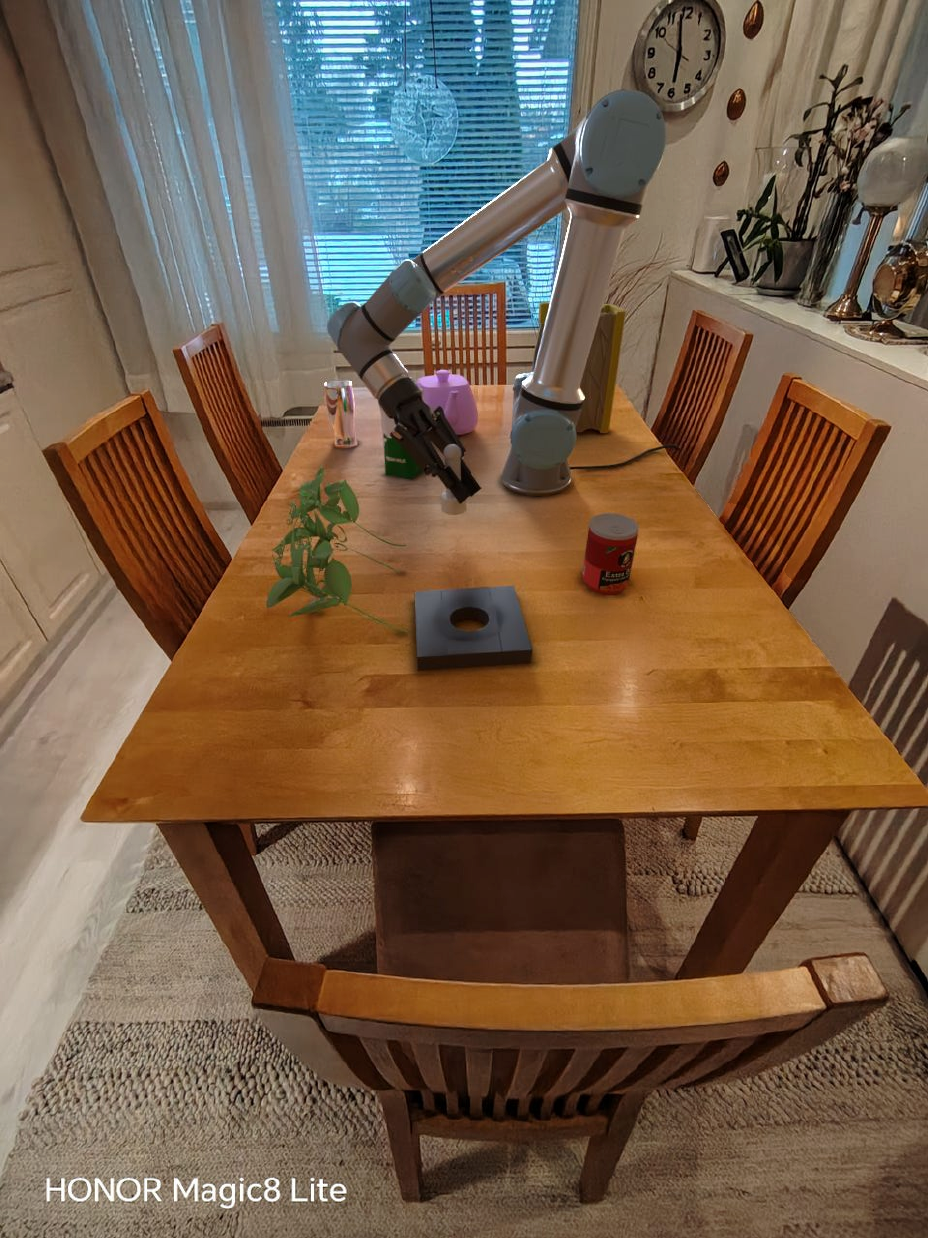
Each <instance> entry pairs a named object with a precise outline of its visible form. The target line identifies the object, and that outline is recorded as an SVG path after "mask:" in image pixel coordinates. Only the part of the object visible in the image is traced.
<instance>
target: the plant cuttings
mask: <svg viewBox="0 0 928 1238" xmlns="http://www.w3.org/2000/svg"><path fill="white" fill-rule="evenodd" d="M324 471H325V470H324V466H321V467H319V468H318V470H317V471H316V474H315V477H314V478H313V480H308V481H306V482H304V483H302V484H301V485H300V487H299V489H297V491H298V500H299V506H298V507H297V502H295V501H294V502H290V503H288V502H286V503H285V504H286V505H288V506H289V507H290V508H289V511H288V513H287V514H288V515H289V516H290V517H289V518H288V519H286V521H285V524H286V526H291V525H293V526H292V529H291V530H290V531H288V533H287V534H285V536H284V537H283V539H280V543H279V544H277V546H274V547H273V548H271V551H272V552H274V553H275V554H276V555H278V557H274V554H272V555H271V556H272V561H273V564H274V567H275V568H274V570H276V572H277V575H278V576H279V578H280V580H278V581H277V582H275V584H274V585H272V587H271V588H270V590H269V592H268V595H267V599H266V602H265V603H266V604H265V605H266V608H267V610H269V609H271V608H273V607H275V606H276V605H278V604H280V603H281V602H283V601H284V600H286V599H287V598H289V597H291V596H292V595H293V594H295V593H296V592H297V591H299V590H300V591H303V592H305V593H308V594H309V595H311V596H312V597H313V598H314V599H313V600H311V601H310V602H309V603H308V604H307V605H304V606H303V607H301V608H299V609H298V610H296V611H294V612H293V613H291V614H289V615H288V616H287V618H288V619H289V618H292V617H295V616H296V617H297V616H302V615H307V614H312V613H316V612H320V611H324V610H327V609H329V608H331V607H339V608H342V609H344V610H345V611H349V612H351V613H352V614H355V615H358V616H360V617H362V618H364V619H366V620H368V621H372V622H373V623H376V624H379V625H380V626H382V627H385V628H388V629H390V630H393V631H396V632H398V633H400V631H402V632H405V633H406V634H410V631H408V630H405V629H402V628H400V627H398V626H395V625H393V624H390V623H388V622H385V621H384V620H381V619H379V618H377V617H376V616H373V615H371V614H369V613H367V612H365V611H363V610H361V609H359V608H357V607H355V606H353V605H351V604H349V603H348V602H349V599H350V598H351V594H352V590H353V589H352V587H353V581H352V577H351V573H350V572H349V569H348V567H347V566H346V565H345V564H344V563H343V562H341V561H339V560H336V559H335V558H334V557H332V558H331V556H332V555H333V554H334V553H335V552H334V551H335V550H336V551H338V548H339V547H340V546H341V547H344V548H345V549H339V551H340V552H341V551H342V552H346V551H349V550H351V551H353V552H355V553H357V554H358V555H361V556H363V557H365V558H368V559H369V560H371V561H374V562H375V563H378V564H379V565H382V566H385V567H386V568H389V569H390V570H393V571H395V572H397V573H400V574H402V573H401V572H400V571H399V570H398V569H396V568H393V567H392V566H390V565H387V564H386V563H383V562H381V561H379V560H377V559H375V558H373V557H370V556H368V555H365V554H363V553H361V552H359V551H356V550H355V549H352V548H349V547H347V546H346V545H345V544H343V543H346V542H348V538H347V536H346V532H345V530H344V528H343V527H341V525H344V524H349V523H352V524H355V525H356V526H358V527H359V528H361V529H362V530H364V531H365V532H366V533H368V534H369V535H370V536H372V537H374V538H376V539H377V540H379V541H380V542H382V543H385V544H387V545H389V546H393V547H407V544H397V543H393V542H391V541H388V540H385V539H383V538H381V537H379V536H377V535H376V534H374V533H373V532H371V531H369V530H367V529H366V528H364V527H363V526H361V525H360V524H359V523H357V522H356V521H358V518H359V515H360V505H359V501H358V498H357V496H356V494H355V492H354V490H353V489H352V488H351V487H350V485H349V484H348V482H347V480H346V479H344V480H342V481H336V482H333V483H332V482H328V483H326V484H325V485H324V489H323V491H324V494H325V496H326V497H328V499H327V501H326V502H324V503H322V497H321V496H322V492H321V491H322V490H321V489H322V483H323V482H324V473H325V472H324ZM340 501H341V503H342V505H343V507H344V509H345V510H344V511H343V512H342V507H341V506H340V505H338V504H340ZM316 510H317V511H318V513H319V514H320V515H321V517H322V518H323V519H324V520H325V521H327V522H329V523H328V524H327V527H325V524H324V522H323V521H322V519H321V518H320V516H318V514H317V512H316ZM311 512H313V513H314V520H313V519H312V517H311V516H310V514H309V513H311ZM299 519H300V521H299V525H298V527H296V524H297V523H298V520H299ZM294 520H295V522H294ZM293 523H294V524H293ZM335 526H336V527H338V528H339V530H341V531H342V533H343V535H344V540H340V539H339V536H338V534H336V533H335V532H334V531H333V528H334V527H335ZM315 537H318V538H319V539H318V540H317V542H316V543H315V545H314V547H313V546H312V538H315ZM305 539H306V540H305ZM335 540H337V541H338V542H334V543H333V546H334V547H335V548H337V549H335V548H333V546H332V544H331V541H335ZM287 545H290V559H291V560H290V562H289V565H286V564H282V559H283V557H284V552H285V547H286V546H287ZM296 545H297V547H296ZM312 548H313V549H312ZM288 551H289V549H286V552H288ZM305 551H306V553H307V555H306V561H304V553H305ZM330 558H331V559H330ZM314 569H318V573H319V574H320V573H321V572H323V579H319V580H318V581H317V580H316V576H315V570H314ZM304 571H305V572H304ZM320 583H322V588H321V587H319V584H320ZM328 596H329V597H330V598H329V597H328ZM340 604H343V606H344V607H342V606H341V605H340ZM346 605H347V606H348V607H350V608H352V609H354V610H355V611H358V612H359V613H361V614H363V615H360V614H359V613H357V612H354V611H352V610H350V609H348V608H345V607H346ZM364 615H365V616H364ZM368 617H369V618H368ZM370 618H371V619H370Z"/></svg>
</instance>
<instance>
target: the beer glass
mask: <svg viewBox="0 0 928 1238" xmlns="http://www.w3.org/2000/svg"><path fill="white" fill-rule="evenodd" d="M323 386H324V399H325V406H326V410H327V415H328V418H329V420H330V424H331V427H332V431H333V446H334V447H335V448H337V449H352V448H354V447H356V446H358V444H359V442H358V437H357V434H356V430H355V429H356V428H355V427H356V426H355V421H356V420H355V419H356V401H355V394H354V390H353V384H352V381H350V380H347V379H346V380H345V379H334V380H329V381H326V382H324V384H323Z"/></svg>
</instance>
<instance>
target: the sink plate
mask: <svg viewBox="0 0 928 1238" xmlns="http://www.w3.org/2000/svg"><path fill="white" fill-rule="evenodd" d="M413 595H414V612H415V613H414V615H415V616H414V617H415V641H416V661H417V662H416V663H417V670H418V671H431V670H432V671H433V670H446V669H447V670H448V669H461V668H463V669H464V668H476V667H490V666H493V667H494V666H502V665H506V666H507V665H519V664H531V663H532V659H533V647H532V644H531V640H530V637H529V633H528V629H527V626H526V623H525V618H524V614H523V612H522V608H521V604H520V601H519V598H518V593H517V590H516V588H515V585H500V586H483V587H467V588H466V587H465V588H464V587H463V588H451V589H450V588H449V589H448V588H447V589H446V588H445V589H432V590H428V589H427V590H415V591H414V594H413ZM463 621H476V622H480V623H482V624H484V626H483V627H481V628H478V629H476V630H475V629H474V630H465V629H461V628H458V627H456V626H454V625H456V624H457V623H460V622H463Z"/></svg>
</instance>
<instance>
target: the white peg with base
mask: <svg viewBox="0 0 928 1238" xmlns="http://www.w3.org/2000/svg"><path fill="white" fill-rule="evenodd" d="M443 457H444V458H443V459H444V464H445V468H446V467H448V466H450V467H451V468H452V470H453V471H454V473H455V474H456V475H457V477H458V478H459V480H460V481H461V462H460V458H461V449H460V448H459V447H458V446H457V445H455V444H450V445H448V446H446V448H445V449H444V455H443ZM467 502H468V498H467V499H466V500H465V501H464V502H463V503H461V504H460V503H459V502H458V501H457V499H456V498H455V496H454V495H453V494H452V492H451V491H450V490H449V489H447V488H446V487H445V490H444V491H442V492H441V494H440V507H441V512H442V513H443V514H445V515H448V516H460V515H462V514H463V515H464V513H466V512H467V510H468V503H467Z"/></svg>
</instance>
